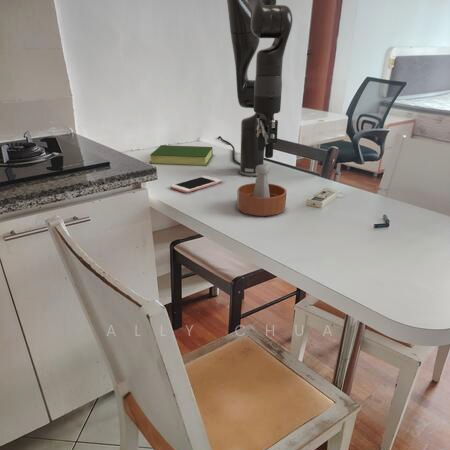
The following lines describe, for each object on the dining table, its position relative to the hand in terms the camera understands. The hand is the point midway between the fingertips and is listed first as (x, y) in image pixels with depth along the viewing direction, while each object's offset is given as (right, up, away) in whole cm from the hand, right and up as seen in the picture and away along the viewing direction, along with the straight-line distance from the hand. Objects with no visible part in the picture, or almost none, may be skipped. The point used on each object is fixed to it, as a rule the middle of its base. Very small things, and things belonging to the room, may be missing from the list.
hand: (264, 154), depth 122 cm
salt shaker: (0, -14, +9) cm, 17 cm away
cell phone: (-22, -1, +29) cm, 37 cm away
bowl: (0, -14, +9) cm, 17 cm away
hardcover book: (-31, +20, +62) cm, 72 cm away
